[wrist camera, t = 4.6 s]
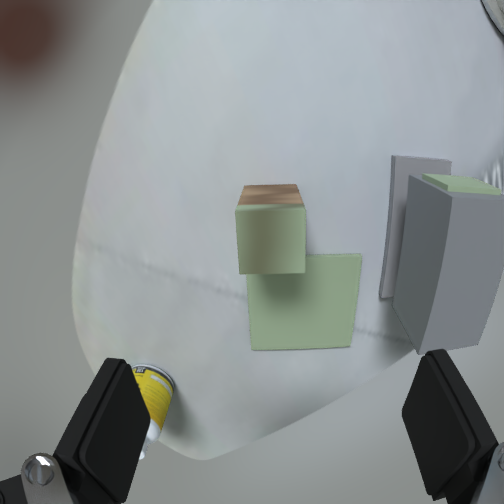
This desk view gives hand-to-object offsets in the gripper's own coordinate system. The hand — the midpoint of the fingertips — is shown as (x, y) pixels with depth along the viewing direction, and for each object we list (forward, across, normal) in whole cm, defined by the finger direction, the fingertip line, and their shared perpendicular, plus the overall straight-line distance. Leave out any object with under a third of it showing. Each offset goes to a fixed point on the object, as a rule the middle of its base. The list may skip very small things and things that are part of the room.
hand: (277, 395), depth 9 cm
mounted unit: (+21, -14, +2) cm, 25 cm away
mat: (+21, -3, +10) cm, 23 cm away
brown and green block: (+21, 0, 0) cm, 21 cm away
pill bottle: (+22, +16, +22) cm, 35 cm away
